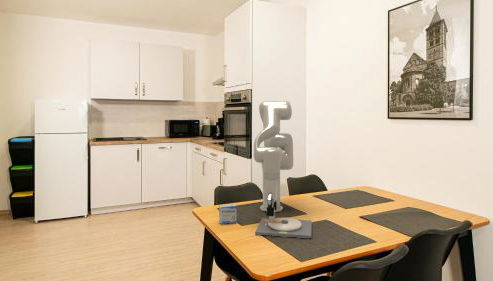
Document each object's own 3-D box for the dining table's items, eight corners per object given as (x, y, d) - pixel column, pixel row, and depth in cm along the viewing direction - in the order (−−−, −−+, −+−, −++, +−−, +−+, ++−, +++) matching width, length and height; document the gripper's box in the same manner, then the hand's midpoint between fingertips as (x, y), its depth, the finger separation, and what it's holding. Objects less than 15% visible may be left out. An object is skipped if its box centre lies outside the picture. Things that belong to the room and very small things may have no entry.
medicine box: (220, 224, 154) (220, 207, 154) (219, 221, 159) (218, 204, 158) (236, 223, 157) (236, 205, 156) (234, 220, 161) (234, 203, 160)
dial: (302, 221, 154) (302, 205, 153) (300, 232, 139) (300, 214, 138) (266, 218, 157) (266, 203, 157) (261, 229, 143) (261, 212, 142)
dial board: (262, 220, 160) (262, 217, 160) (311, 223, 155) (311, 220, 155) (255, 235, 141) (255, 231, 141) (311, 239, 136) (311, 235, 136)
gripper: (266, 172, 156) (266, 207, 157) (260, 179, 139) (260, 218, 140) (281, 173, 155) (281, 208, 156) (277, 179, 138) (277, 219, 139)
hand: (271, 213), depth 148 cm, fingers open, 9 cm apart
